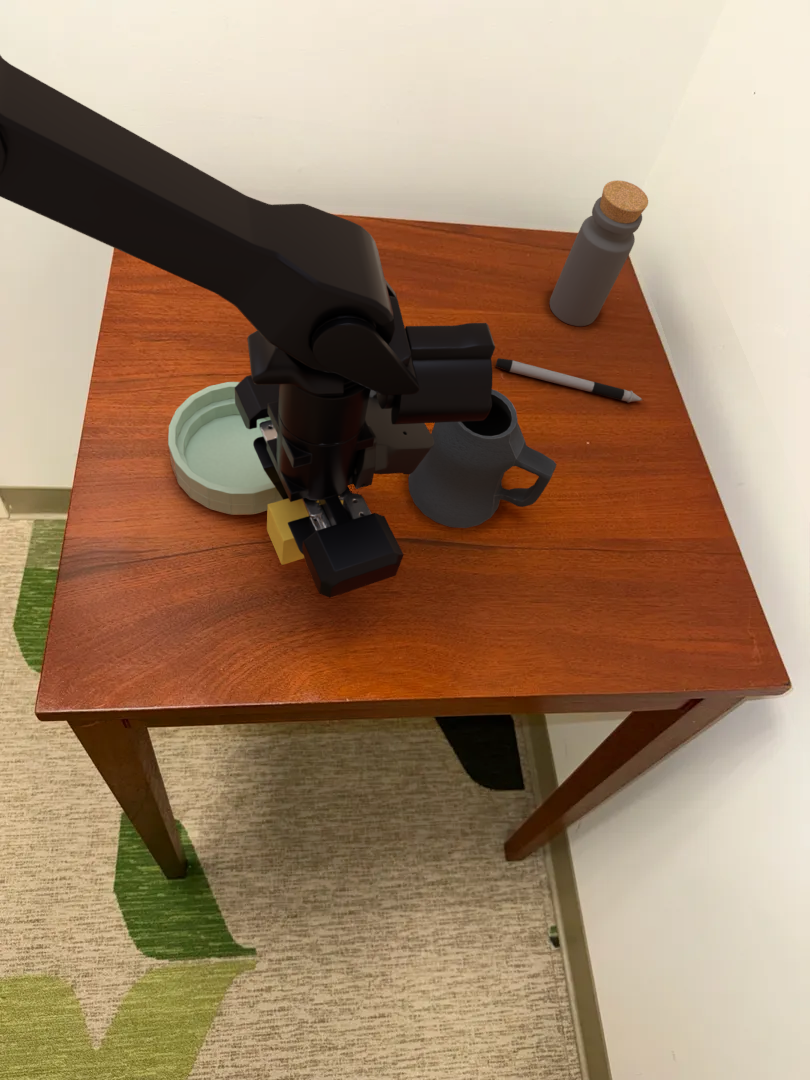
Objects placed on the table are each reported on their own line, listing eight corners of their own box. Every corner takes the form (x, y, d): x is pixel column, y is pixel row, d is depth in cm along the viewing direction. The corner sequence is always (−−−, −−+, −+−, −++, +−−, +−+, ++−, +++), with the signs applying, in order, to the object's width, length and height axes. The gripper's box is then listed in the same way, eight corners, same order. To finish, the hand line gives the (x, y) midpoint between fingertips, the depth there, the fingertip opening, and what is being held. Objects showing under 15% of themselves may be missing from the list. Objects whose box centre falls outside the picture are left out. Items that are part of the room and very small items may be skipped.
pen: (495, 362, 83) (498, 353, 81) (641, 399, 83) (646, 391, 82) (494, 371, 82) (497, 362, 81) (641, 408, 83) (646, 400, 82)
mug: (392, 500, 71) (413, 425, 62) (430, 434, 76) (456, 355, 66) (509, 557, 70) (549, 490, 61) (540, 487, 75) (582, 414, 65)
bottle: (541, 311, 88) (590, 196, 75) (559, 283, 91) (609, 168, 78) (587, 334, 87) (644, 222, 74) (603, 305, 90) (661, 193, 77)
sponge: (281, 565, 63) (283, 541, 59) (266, 529, 64) (267, 504, 61) (349, 544, 65) (354, 519, 61) (332, 510, 66) (337, 484, 63)
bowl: (196, 536, 66) (193, 510, 62) (155, 428, 71) (150, 399, 67) (327, 497, 70) (331, 471, 67) (280, 398, 75) (282, 369, 71)
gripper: (493, 490, 49) (442, 596, 63) (376, 290, 57) (352, 423, 70) (332, 540, 45) (314, 642, 59) (230, 319, 53) (234, 453, 66)
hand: (307, 531), depth 63 cm, fingers closed on sponge, 3 cm apart
